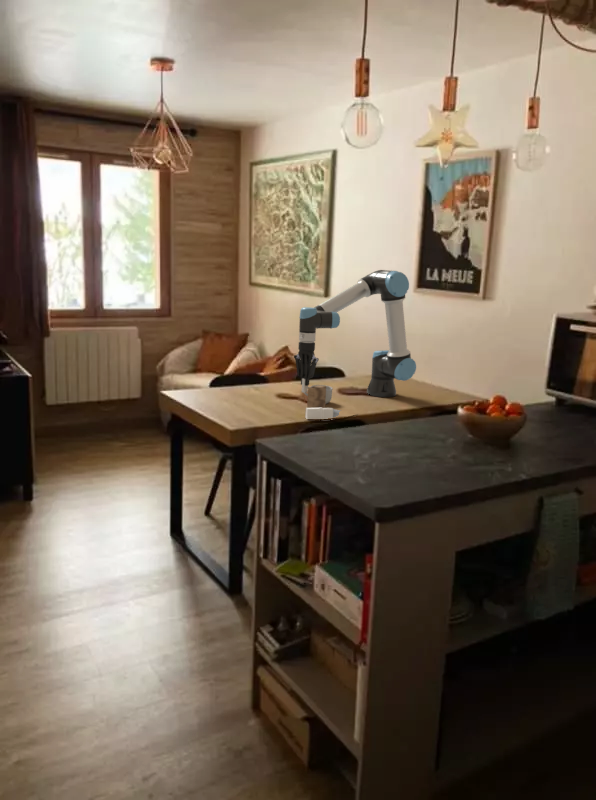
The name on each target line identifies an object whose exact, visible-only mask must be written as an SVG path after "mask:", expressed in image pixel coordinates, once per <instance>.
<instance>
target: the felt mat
mask: <svg viewBox="0 0 596 800" xmlns="http://www.w3.org/2000/svg"><path fill="white" fill-rule="evenodd" d="M340 411H341V410H339V409H335V408H333V417H336V416H338V415H339V412H340Z"/></svg>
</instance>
